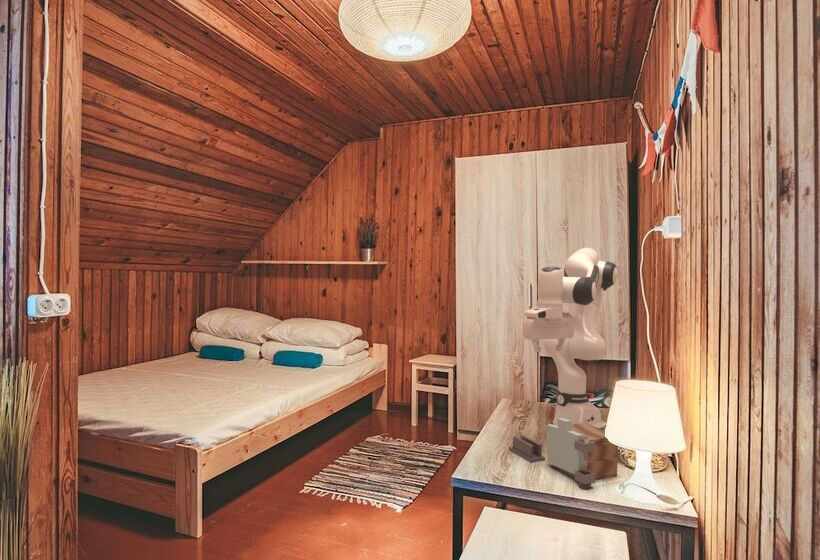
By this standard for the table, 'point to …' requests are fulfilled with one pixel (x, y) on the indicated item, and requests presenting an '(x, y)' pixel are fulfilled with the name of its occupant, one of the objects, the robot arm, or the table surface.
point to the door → (568, 450)
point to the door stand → (527, 449)
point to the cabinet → (597, 453)
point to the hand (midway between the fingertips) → (548, 351)
